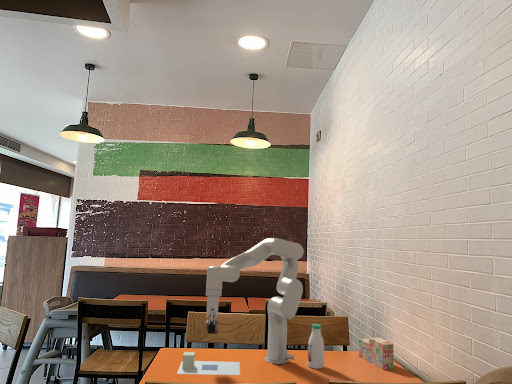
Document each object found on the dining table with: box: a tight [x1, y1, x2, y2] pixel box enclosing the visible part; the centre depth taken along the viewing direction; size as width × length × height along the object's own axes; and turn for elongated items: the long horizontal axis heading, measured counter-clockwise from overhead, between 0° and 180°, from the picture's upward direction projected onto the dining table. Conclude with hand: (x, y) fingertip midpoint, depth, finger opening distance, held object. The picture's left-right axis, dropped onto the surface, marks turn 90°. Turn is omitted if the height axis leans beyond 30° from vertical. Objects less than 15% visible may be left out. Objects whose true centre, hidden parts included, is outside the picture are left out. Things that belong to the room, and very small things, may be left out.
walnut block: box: [204, 319, 220, 335], centre depth 184 cm, size 6×6×5 cm
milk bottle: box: [307, 323, 325, 370], centre depth 192 cm, size 8×8×20 cm
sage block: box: [182, 351, 196, 369], centre depth 181 cm, size 5×5×6 cm
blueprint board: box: [176, 360, 241, 376], centre depth 182 cm, size 28×18×1 cm, turn 93°
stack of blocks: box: [358, 337, 395, 371], centre depth 202 cm, size 21×6×12 cm, turn 18°
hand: (211, 331), depth 183 cm, fingers closed on walnut block, 6 cm apart
